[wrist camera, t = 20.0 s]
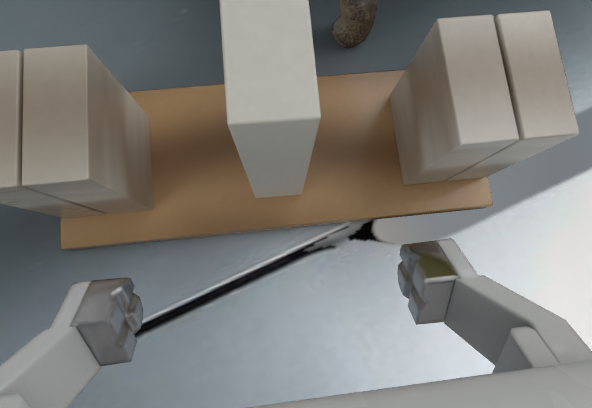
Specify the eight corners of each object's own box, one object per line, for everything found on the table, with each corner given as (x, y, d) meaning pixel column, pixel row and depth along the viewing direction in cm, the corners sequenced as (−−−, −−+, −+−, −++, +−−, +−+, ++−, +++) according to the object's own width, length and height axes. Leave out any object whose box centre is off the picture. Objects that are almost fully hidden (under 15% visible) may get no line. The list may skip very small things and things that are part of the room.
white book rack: (483, 208, 21) (595, 174, 13) (71, 250, 20) (-57, 238, 12) (458, 73, 22) (546, -26, 15) (70, 105, 21) (-46, 15, 14)
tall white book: (302, 194, 19) (321, 118, 10) (255, 198, 19) (226, 125, 10) (293, 103, 20) (303, -53, 10) (248, 106, 20) (216, -49, 10)
